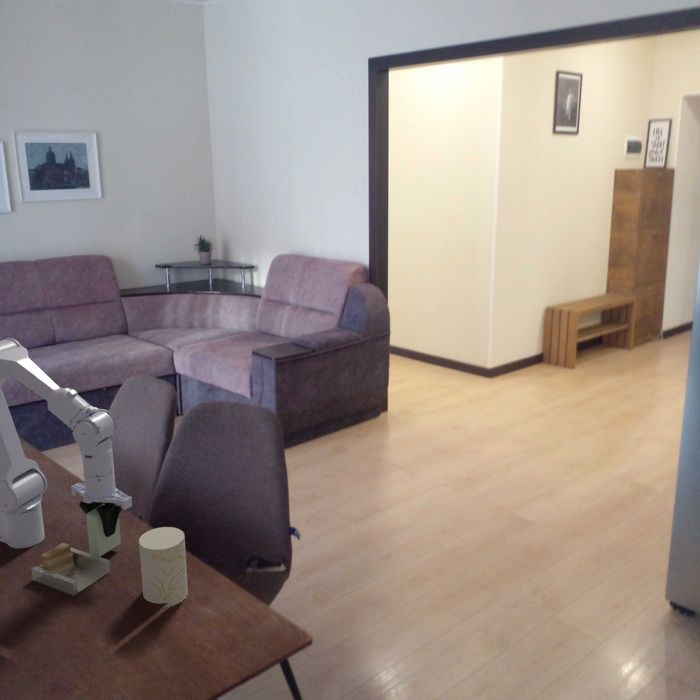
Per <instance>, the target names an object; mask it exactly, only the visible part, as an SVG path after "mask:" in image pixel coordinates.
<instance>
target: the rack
mask: <svg viewBox="0 0 700 700" xmlns="http://www.w3.org/2000/svg"><path fill="white" fill-rule="evenodd" d="M70 550H71V554H73V560H74V565H73V566H71V567H69V568H68V569H66V570H65V571H63V572H61V573H60V574H57V573H54V572H51V571H48V570H46V569H43V568H40V567H39V566H38V565H35V566H33V567H31V570H30V571H31V577H32V581H33V582H37V583H38V584H42V585H45V586H47V587H50V588H52V589H55V590H58V591H61V592H63V593H66V594H68V595H71V596H76V595H77V594H79V593H80V592H82V591H84V589H86V588H88V587H89V586H91V585H92V584H94V583H95V582H96V581H99V580H100V579H101V578H103V577H104V576H106V575H107V574H109V573H110V572H111V568H110V567H111V565H110V560H109V559H107V558H103V557H102V556H100V557H98V556H95V555H92V554H90V552H89V553H88V552H86V551H83V550H79V549H77V548H74V547H71V546H70Z"/></svg>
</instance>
